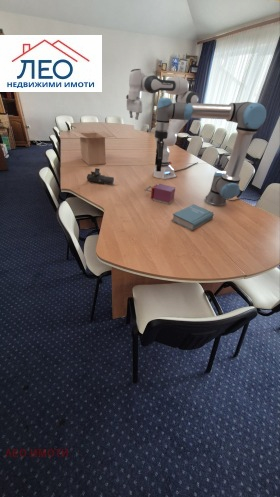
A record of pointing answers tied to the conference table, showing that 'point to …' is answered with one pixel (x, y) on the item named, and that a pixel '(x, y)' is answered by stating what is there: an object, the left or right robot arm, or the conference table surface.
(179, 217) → the book
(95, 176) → the laser sight
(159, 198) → the cabinet
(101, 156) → the box
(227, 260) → the conference table surface
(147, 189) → the drawer
